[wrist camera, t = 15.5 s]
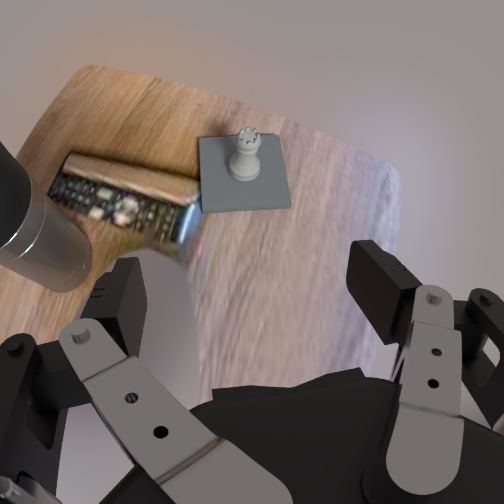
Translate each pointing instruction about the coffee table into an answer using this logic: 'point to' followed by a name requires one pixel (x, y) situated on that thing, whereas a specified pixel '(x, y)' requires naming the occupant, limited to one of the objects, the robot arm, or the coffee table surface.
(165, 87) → the coffee table surface
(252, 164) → the rook chess piece
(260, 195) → the slate tile
